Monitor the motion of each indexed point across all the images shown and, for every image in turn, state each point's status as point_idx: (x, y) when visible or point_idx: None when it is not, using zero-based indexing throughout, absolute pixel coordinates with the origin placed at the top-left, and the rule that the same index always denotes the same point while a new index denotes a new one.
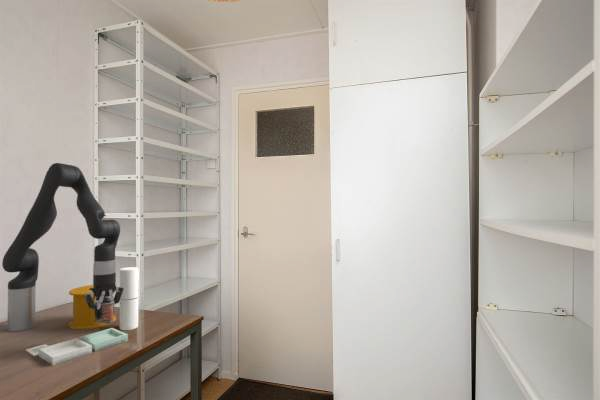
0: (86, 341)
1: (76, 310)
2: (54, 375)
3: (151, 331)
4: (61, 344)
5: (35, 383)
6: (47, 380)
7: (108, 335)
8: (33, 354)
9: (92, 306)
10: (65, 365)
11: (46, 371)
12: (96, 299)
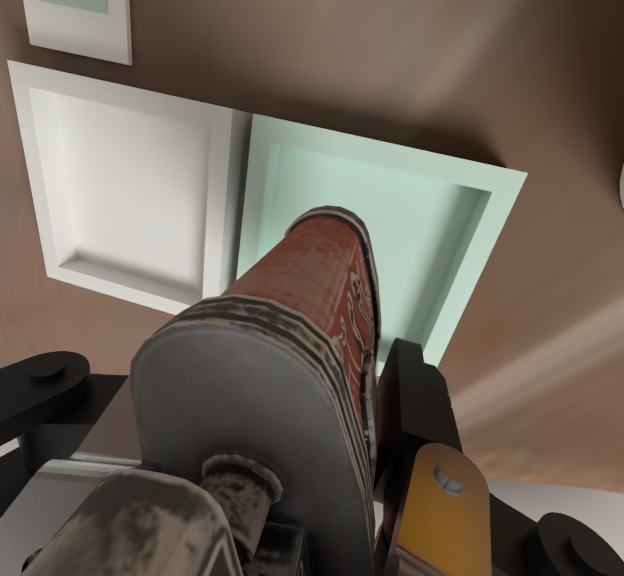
0: (244, 228)
1: None
2: (68, 342)
3: (619, 393)
4: (133, 109)
5: (18, 334)
6: (47, 351)
7: (424, 222)
8: (28, 22)
9: (33, 471)
10: (114, 311)
11: (54, 289)
12: (30, 554)
